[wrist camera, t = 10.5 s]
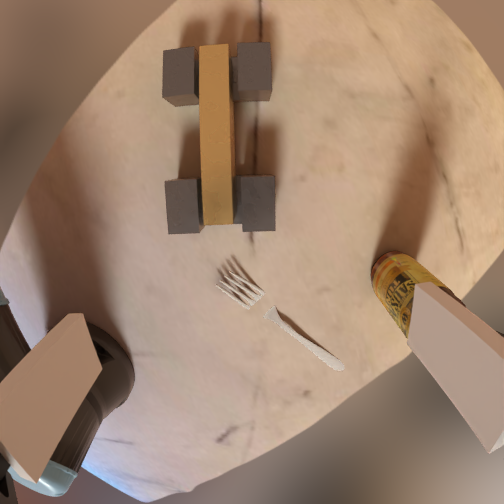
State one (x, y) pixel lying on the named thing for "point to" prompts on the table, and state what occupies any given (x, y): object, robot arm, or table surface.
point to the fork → (279, 320)
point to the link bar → (217, 134)
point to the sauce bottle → (401, 285)
